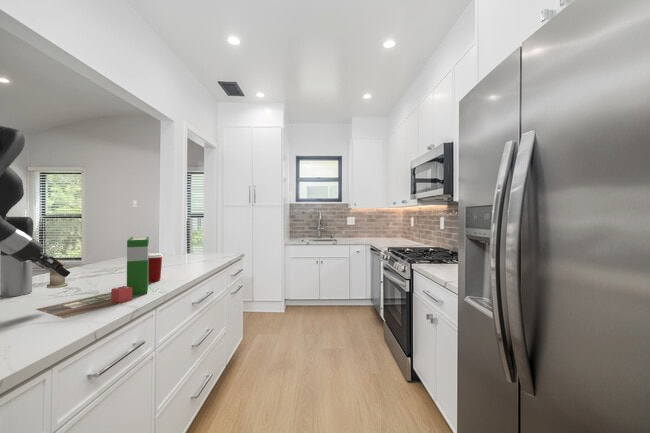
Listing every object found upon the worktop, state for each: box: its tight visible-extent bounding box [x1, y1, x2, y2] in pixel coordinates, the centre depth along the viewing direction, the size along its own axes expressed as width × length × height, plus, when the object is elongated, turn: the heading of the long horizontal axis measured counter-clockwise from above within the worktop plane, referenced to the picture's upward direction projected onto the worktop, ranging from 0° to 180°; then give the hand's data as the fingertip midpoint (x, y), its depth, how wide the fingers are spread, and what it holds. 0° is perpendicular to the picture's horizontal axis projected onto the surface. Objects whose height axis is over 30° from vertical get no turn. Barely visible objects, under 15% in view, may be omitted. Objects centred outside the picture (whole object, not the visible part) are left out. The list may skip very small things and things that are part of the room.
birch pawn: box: [46, 259, 69, 289], centre depth 102 cm, size 6×6×10 cm
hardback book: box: [126, 236, 150, 297], centre depth 129 cm, size 18×7×24 cm, turn 31°
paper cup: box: [148, 252, 164, 283], centre depth 147 cm, size 8×8×14 cm
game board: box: [35, 293, 133, 319], centre depth 108 cm, size 20×22×1 cm
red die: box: [110, 285, 133, 304], centre depth 113 cm, size 5×5×5 cm
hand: (64, 274), depth 104 cm, fingers closed on birch pawn, 4 cm apart
